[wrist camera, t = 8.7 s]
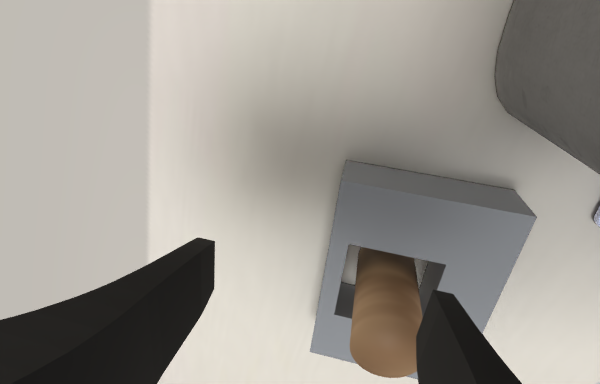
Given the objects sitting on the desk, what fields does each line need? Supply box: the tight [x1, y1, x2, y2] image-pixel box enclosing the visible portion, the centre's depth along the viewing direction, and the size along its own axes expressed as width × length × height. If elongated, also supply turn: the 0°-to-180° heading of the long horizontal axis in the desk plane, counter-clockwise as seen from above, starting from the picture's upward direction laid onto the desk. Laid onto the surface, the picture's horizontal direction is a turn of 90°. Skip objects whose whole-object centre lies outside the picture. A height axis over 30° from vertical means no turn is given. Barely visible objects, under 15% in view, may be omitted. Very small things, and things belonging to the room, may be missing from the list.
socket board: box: [310, 160, 537, 379], centre depth 21 cm, size 9×12×3 cm
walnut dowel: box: [350, 247, 423, 378], centre depth 19 cm, size 3×3×7 cm
